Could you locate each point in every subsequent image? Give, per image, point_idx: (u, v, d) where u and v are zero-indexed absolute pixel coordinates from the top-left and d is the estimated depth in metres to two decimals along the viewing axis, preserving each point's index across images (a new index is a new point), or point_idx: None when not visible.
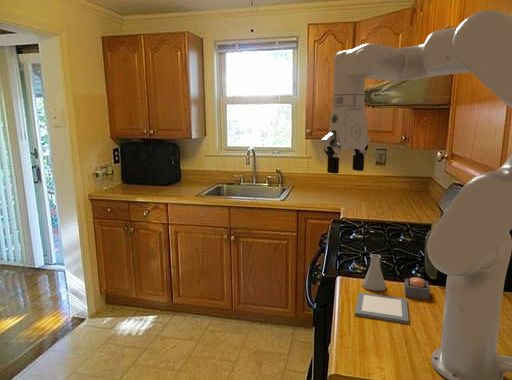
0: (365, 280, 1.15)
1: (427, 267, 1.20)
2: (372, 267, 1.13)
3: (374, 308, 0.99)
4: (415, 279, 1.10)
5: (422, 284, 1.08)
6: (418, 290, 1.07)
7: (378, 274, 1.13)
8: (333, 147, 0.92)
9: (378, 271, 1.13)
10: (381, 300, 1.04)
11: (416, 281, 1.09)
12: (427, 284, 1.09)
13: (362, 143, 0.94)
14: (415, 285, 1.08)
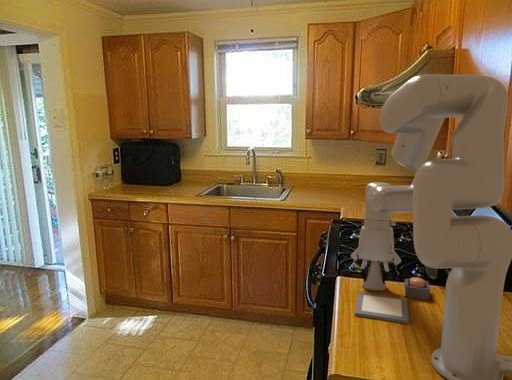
0: None
1: (427, 267, 1.20)
2: (372, 267, 1.13)
3: (374, 308, 0.99)
4: (415, 279, 1.10)
5: (422, 284, 1.08)
6: (418, 290, 1.07)
7: (378, 274, 1.13)
8: None
9: (378, 271, 1.13)
10: (381, 300, 1.04)
11: (416, 281, 1.09)
12: (427, 284, 1.09)
13: None
14: (415, 285, 1.08)
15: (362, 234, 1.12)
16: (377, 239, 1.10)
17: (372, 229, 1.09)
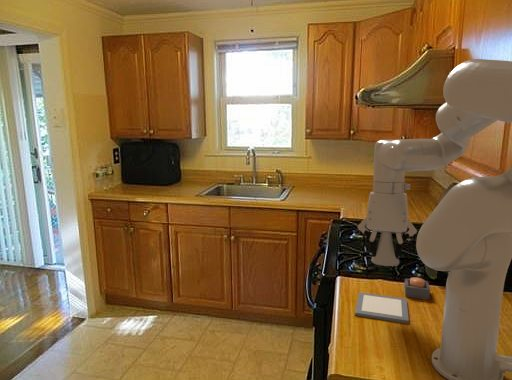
0: None
1: (427, 267, 1.20)
2: (383, 239, 0.97)
3: (374, 308, 0.99)
4: (415, 279, 1.10)
5: (422, 284, 1.08)
6: (418, 290, 1.07)
7: (390, 246, 0.97)
8: None
9: (390, 243, 0.97)
10: (381, 300, 1.04)
11: (416, 281, 1.09)
12: (427, 284, 1.09)
13: None
14: (415, 285, 1.08)
15: (371, 200, 0.96)
16: (389, 205, 0.94)
17: (383, 193, 0.94)
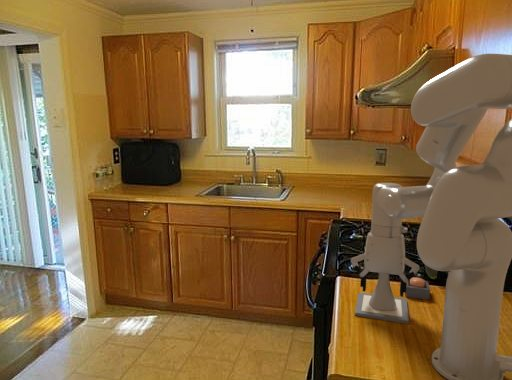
0: (372, 298, 1.00)
1: (427, 267, 1.20)
2: (380, 283, 0.99)
3: None
4: (415, 279, 1.10)
5: (422, 284, 1.08)
6: (418, 290, 1.07)
7: (387, 291, 0.98)
8: None
9: (387, 288, 0.99)
10: None
11: (416, 281, 1.09)
12: (427, 284, 1.09)
13: None
14: (415, 285, 1.08)
15: (369, 242, 0.98)
16: (386, 248, 0.96)
17: (380, 237, 0.95)
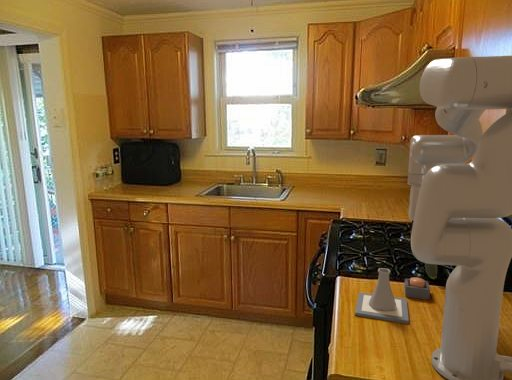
0: (372, 298, 1.00)
1: (427, 267, 1.20)
2: (380, 283, 0.99)
3: None
4: (415, 279, 1.10)
5: (422, 284, 1.08)
6: (418, 290, 1.07)
7: (387, 291, 0.98)
8: None
9: (387, 288, 0.99)
10: None
11: (416, 281, 1.09)
12: (427, 284, 1.09)
13: (409, 215, 1.05)
14: (415, 285, 1.08)
15: None
16: None
17: None
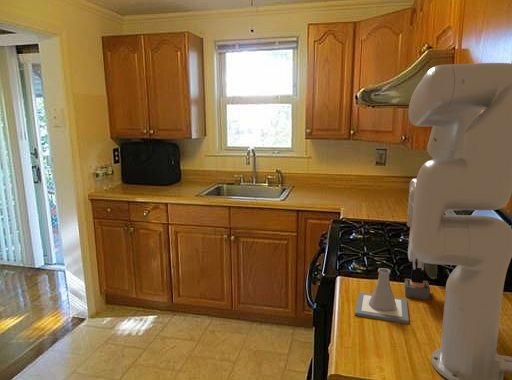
0: (372, 298, 1.00)
1: (427, 267, 1.20)
2: (380, 283, 0.99)
3: None
4: None
5: (422, 286, 1.08)
6: (418, 290, 1.07)
7: (387, 291, 0.98)
8: None
9: (387, 288, 0.99)
10: None
11: (416, 283, 1.09)
12: (427, 284, 1.09)
13: (409, 256, 1.07)
14: None
15: None
16: None
17: None
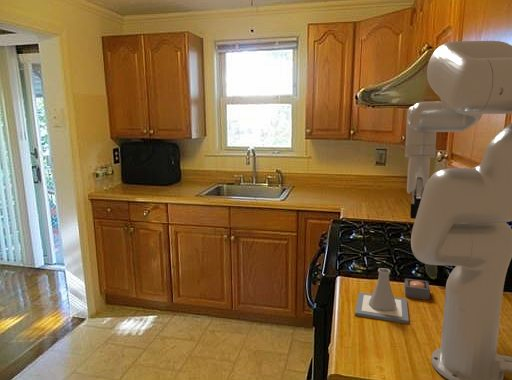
0: (372, 298, 1.00)
1: (427, 267, 1.20)
2: (380, 283, 0.99)
3: None
4: (415, 282, 1.10)
5: None
6: (418, 290, 1.07)
7: (387, 291, 0.98)
8: None
9: (387, 288, 0.99)
10: None
11: (416, 284, 1.09)
12: (427, 284, 1.09)
13: (407, 188, 1.01)
14: None
15: (428, 164, 0.98)
16: None
17: (434, 155, 1.00)
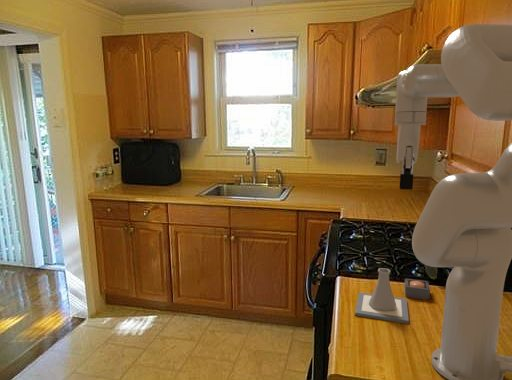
0: (372, 298, 1.00)
1: (427, 267, 1.20)
2: (380, 283, 0.99)
3: None
4: (415, 282, 1.10)
5: None
6: (418, 290, 1.07)
7: (387, 291, 0.98)
8: None
9: (387, 288, 0.99)
10: None
11: (416, 284, 1.09)
12: (427, 284, 1.09)
13: None
14: None
15: (418, 131, 0.94)
16: None
17: (425, 123, 0.95)
